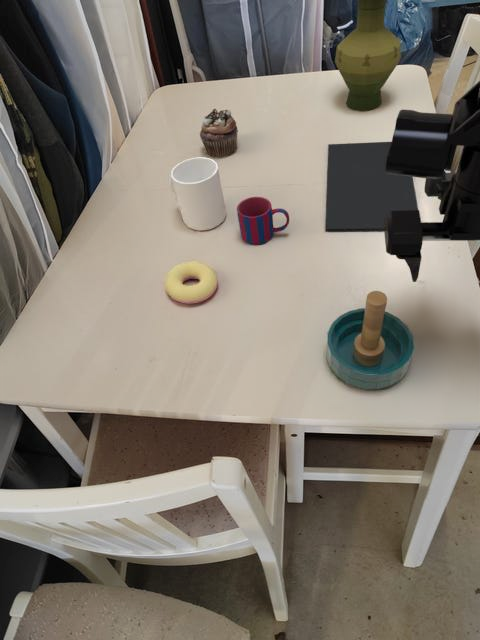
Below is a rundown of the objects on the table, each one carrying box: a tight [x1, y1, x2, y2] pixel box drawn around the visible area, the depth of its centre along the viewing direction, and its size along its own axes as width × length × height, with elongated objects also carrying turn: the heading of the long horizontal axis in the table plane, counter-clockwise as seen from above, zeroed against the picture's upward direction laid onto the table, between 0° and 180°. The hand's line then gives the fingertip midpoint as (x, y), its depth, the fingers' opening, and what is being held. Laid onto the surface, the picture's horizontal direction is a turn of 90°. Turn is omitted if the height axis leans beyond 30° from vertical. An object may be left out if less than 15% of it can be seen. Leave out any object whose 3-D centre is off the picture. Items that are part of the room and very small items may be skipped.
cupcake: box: [199, 108, 239, 159], centre depth 110 cm, size 10×10×10 cm
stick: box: [353, 290, 388, 367], centre depth 63 cm, size 4×4×13 cm
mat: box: [324, 141, 419, 233], centre depth 96 cm, size 18×32×1 cm, turn 172°
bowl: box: [326, 307, 415, 390], centre depth 67 cm, size 12×12×4 cm
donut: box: [164, 260, 219, 305], centre depth 82 cm, size 10×5×9 cm
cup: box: [236, 196, 290, 246], centre depth 87 cm, size 7×10×7 cm
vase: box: [334, 0, 402, 112], centre depth 109 cm, size 16×16×30 cm
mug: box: [169, 156, 227, 231], centre depth 92 cm, size 10×12×12 cm
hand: (449, 280), depth 60 cm, fingers open, 9 cm apart
